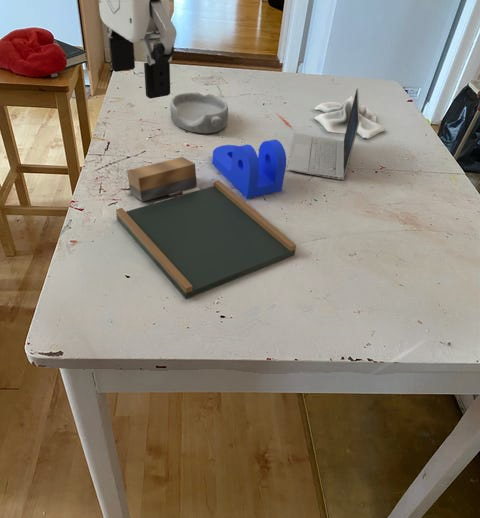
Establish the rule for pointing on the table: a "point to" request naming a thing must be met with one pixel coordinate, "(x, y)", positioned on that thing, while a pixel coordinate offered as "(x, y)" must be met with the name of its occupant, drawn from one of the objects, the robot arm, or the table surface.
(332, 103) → the cloth
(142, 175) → the eraser
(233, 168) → the bracket
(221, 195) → the slate board
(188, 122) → the dish
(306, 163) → the laptop
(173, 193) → the chalk stroke
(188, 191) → the off-white bar
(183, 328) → the table surface
